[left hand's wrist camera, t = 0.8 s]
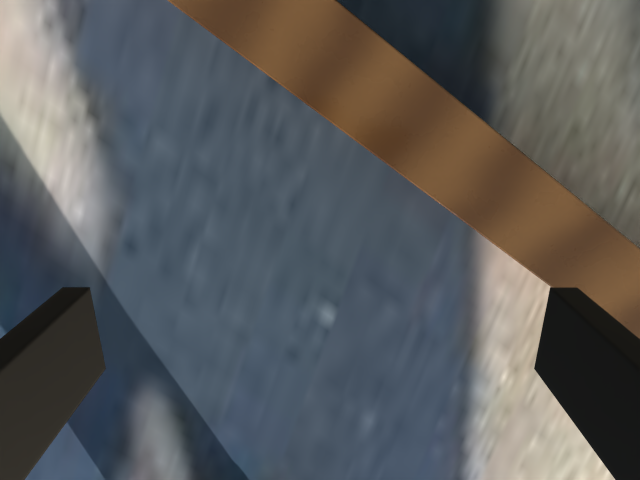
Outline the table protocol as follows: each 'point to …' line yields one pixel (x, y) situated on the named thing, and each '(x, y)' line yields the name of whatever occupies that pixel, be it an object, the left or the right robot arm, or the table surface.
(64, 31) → the table surface
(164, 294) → the table surface
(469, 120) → the post
